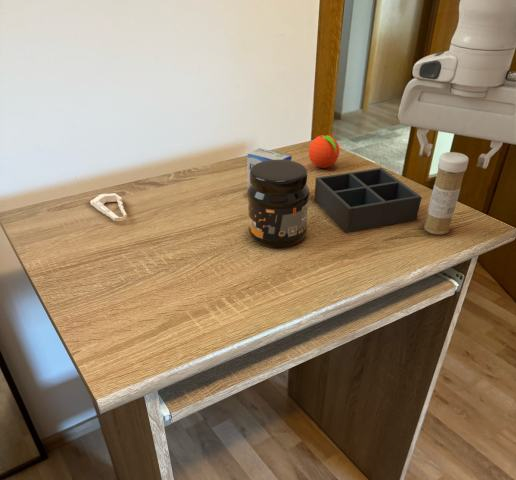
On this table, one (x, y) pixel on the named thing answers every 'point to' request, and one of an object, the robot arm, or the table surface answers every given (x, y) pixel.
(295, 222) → the supplement container
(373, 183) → the rack
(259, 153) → the medicine box
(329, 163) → the clementine
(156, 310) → the table surface
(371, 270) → the table surface
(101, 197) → the cream triangular ring
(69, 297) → the table surface
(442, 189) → the sprinkles bottle
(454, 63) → the robot arm
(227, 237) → the table surface
